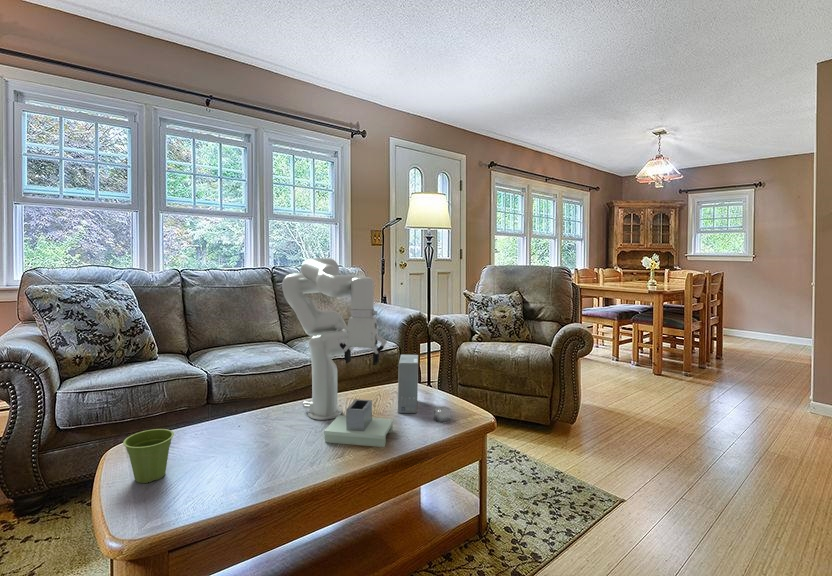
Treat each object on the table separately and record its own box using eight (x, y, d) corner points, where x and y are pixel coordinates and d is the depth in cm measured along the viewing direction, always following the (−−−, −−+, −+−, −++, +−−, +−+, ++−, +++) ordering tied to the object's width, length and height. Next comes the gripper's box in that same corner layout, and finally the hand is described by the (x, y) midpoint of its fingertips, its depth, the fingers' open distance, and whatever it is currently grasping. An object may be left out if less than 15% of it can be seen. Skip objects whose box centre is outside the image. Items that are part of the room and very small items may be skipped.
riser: (324, 442, 142) (324, 431, 141) (338, 426, 155) (338, 415, 155) (383, 447, 138) (383, 435, 138) (393, 430, 152) (393, 419, 152)
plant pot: (120, 492, 112) (118, 450, 111) (130, 471, 122) (128, 432, 121) (172, 483, 116) (171, 442, 115) (177, 463, 127) (176, 426, 126)
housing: (355, 418, 152) (355, 399, 151) (372, 419, 151) (372, 400, 150) (346, 430, 142) (346, 409, 142) (364, 431, 141) (364, 410, 141)
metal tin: (433, 422, 160) (433, 411, 160) (435, 416, 166) (435, 406, 165) (449, 423, 159) (449, 412, 159) (450, 417, 165) (450, 407, 164)
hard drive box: (417, 413, 168) (417, 363, 166) (397, 413, 168) (397, 363, 166) (417, 400, 183) (418, 354, 182) (399, 400, 183) (400, 353, 182)
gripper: (389, 313, 147) (389, 362, 149) (341, 310, 151) (341, 359, 152) (384, 316, 140) (383, 368, 142) (333, 314, 143) (333, 364, 145)
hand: (361, 363), depth 147 cm, fingers open, 9 cm apart
